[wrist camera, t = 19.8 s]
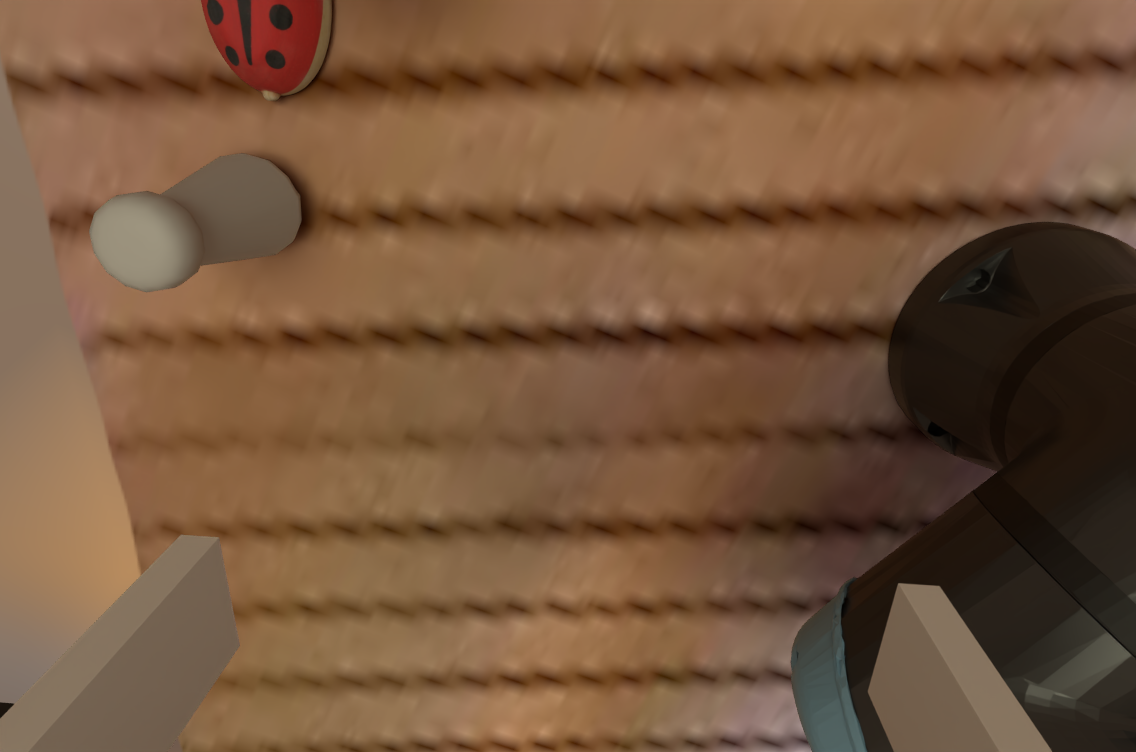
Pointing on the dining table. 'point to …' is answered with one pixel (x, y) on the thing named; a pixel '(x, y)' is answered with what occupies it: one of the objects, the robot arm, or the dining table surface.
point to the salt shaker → (197, 223)
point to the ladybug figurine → (271, 40)
